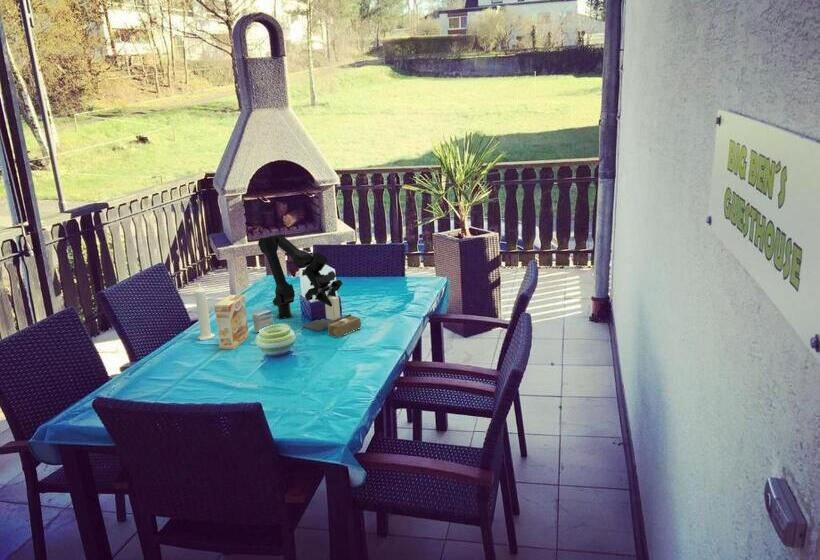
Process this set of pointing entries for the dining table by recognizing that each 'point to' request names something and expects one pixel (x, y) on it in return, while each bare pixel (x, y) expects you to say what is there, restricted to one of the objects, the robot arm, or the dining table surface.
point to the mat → (317, 325)
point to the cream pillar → (333, 308)
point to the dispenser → (343, 325)
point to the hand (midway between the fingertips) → (334, 305)
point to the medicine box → (262, 319)
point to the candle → (203, 314)
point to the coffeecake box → (231, 321)
